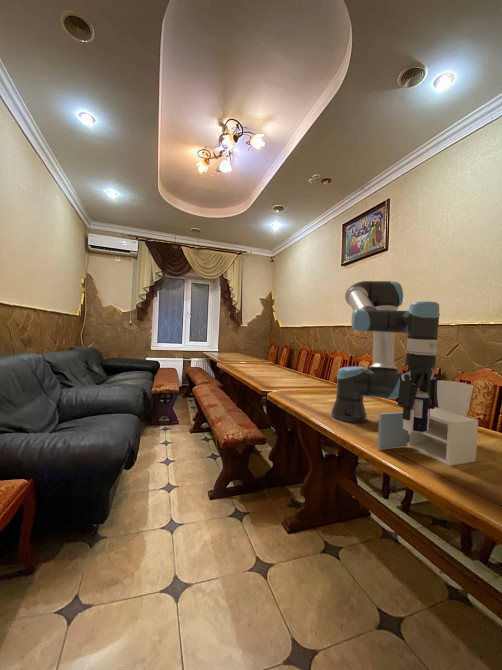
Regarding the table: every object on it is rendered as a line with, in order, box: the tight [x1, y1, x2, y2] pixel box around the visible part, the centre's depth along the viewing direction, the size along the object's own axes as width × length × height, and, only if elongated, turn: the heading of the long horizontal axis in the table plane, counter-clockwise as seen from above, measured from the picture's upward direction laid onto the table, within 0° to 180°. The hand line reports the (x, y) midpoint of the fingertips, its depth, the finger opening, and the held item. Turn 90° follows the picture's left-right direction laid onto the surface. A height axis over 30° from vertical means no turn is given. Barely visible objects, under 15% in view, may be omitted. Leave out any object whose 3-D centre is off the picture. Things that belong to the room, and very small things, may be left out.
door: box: [375, 411, 410, 450], centre depth 87 cm, size 2×13×12 cm, turn 109°
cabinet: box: [406, 407, 479, 467], centre depth 85 cm, size 14×12×13 cm
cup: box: [437, 380, 474, 417], centre depth 97 cm, size 12×12×22 cm
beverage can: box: [412, 389, 429, 433], centre depth 78 cm, size 6×6×12 cm
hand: (415, 429), depth 78 cm, fingers closed on beverage can, 6 cm apart
